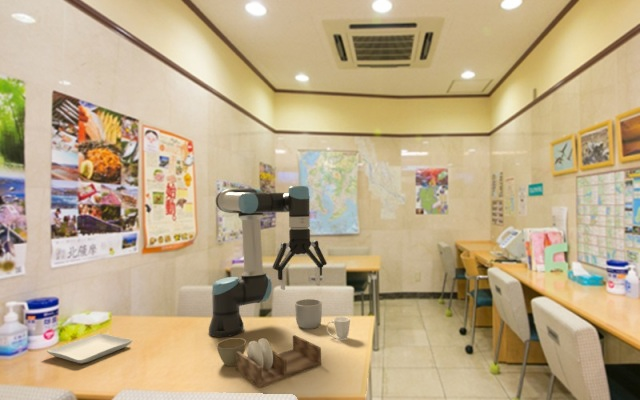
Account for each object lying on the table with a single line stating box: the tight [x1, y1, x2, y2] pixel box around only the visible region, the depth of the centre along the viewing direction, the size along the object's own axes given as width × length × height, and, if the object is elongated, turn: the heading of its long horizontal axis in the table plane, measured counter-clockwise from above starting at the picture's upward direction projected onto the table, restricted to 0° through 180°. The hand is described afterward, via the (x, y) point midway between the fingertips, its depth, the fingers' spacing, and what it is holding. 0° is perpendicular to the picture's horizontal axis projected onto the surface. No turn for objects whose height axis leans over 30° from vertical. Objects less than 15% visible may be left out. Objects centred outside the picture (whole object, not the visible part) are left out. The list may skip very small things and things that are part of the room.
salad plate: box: [46, 333, 133, 364], centre depth 139 cm, size 21×21×3 cm
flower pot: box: [216, 337, 247, 367], centre depth 126 cm, size 10×10×7 cm
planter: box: [294, 298, 323, 330], centre depth 164 cm, size 12×12×11 cm
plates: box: [246, 337, 273, 370], centre depth 117 cm, size 10×4×10 cm, turn 38°
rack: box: [235, 335, 322, 388], centre depth 121 cm, size 16×24×6 cm, turn 128°
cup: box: [326, 316, 351, 342], centre depth 147 cm, size 7×10×8 cm
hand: (300, 286), depth 129 cm, fingers open, 13 cm apart
